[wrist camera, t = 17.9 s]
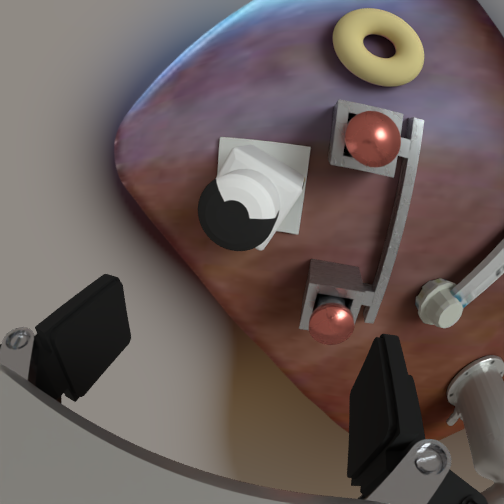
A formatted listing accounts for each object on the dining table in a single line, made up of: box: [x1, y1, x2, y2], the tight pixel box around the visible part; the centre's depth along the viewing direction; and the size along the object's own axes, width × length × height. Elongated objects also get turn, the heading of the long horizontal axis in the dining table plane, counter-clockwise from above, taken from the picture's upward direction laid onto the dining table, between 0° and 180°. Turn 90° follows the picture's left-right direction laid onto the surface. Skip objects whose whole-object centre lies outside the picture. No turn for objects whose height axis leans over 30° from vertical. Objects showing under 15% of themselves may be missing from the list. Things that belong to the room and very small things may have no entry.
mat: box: [217, 137, 311, 234], centre depth 32 cm, size 10×10×1 cm
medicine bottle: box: [198, 144, 305, 251], centre depth 27 cm, size 7×7×12 cm
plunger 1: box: [309, 293, 354, 345], centre depth 31 cm, size 5×5×8 cm
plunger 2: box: [344, 111, 401, 167], centre depth 24 cm, size 5×5×8 cm
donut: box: [333, 8, 424, 87], centre depth 22 cm, size 10×5×9 cm
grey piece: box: [415, 239, 504, 328], centre depth 27 cm, size 5×7×25 cm
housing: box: [299, 100, 424, 330], centre depth 29 cm, size 25×10×6 cm, turn 175°
